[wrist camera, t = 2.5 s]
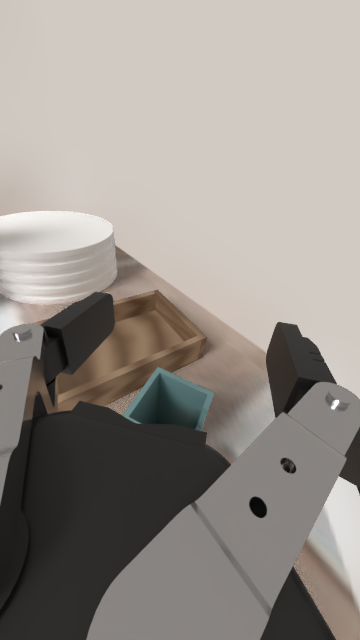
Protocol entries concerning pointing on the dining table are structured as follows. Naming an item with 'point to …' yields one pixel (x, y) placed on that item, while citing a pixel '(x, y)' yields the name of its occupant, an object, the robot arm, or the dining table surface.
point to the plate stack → (55, 256)
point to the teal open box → (170, 402)
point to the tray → (133, 351)
